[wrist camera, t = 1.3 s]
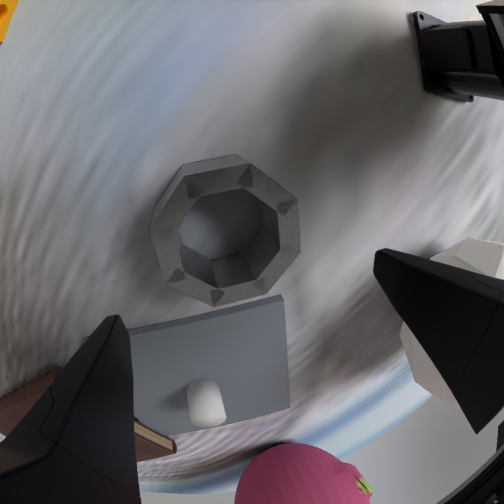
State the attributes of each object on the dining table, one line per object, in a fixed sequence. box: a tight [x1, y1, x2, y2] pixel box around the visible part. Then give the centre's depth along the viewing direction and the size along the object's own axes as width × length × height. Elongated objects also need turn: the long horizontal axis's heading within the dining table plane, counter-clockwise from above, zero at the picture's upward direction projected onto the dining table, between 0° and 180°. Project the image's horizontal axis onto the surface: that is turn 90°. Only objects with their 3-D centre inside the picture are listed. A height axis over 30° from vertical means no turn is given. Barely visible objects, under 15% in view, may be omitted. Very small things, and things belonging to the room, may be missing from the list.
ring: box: [149, 154, 300, 307], centre depth 14 cm, size 7×7×3 cm
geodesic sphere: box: [399, 237, 504, 407], centre depth 17 cm, size 15×14×14 cm
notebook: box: [0, 367, 177, 462], centre depth 19 cm, size 15×20×2 cm
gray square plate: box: [82, 295, 290, 436], centre depth 19 cm, size 14×14×4 cm
